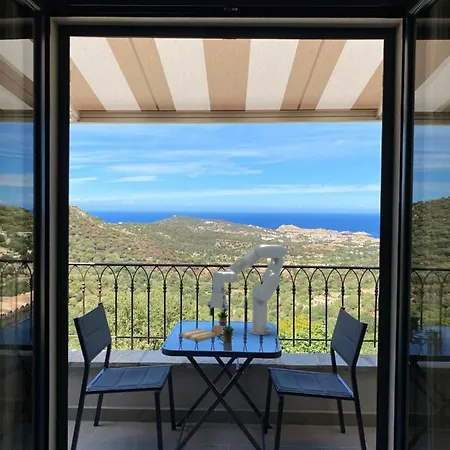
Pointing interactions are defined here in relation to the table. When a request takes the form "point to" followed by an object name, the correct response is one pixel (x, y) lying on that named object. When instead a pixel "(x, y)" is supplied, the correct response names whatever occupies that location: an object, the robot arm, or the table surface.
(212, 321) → the table surface
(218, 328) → the cube
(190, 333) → the oak board
